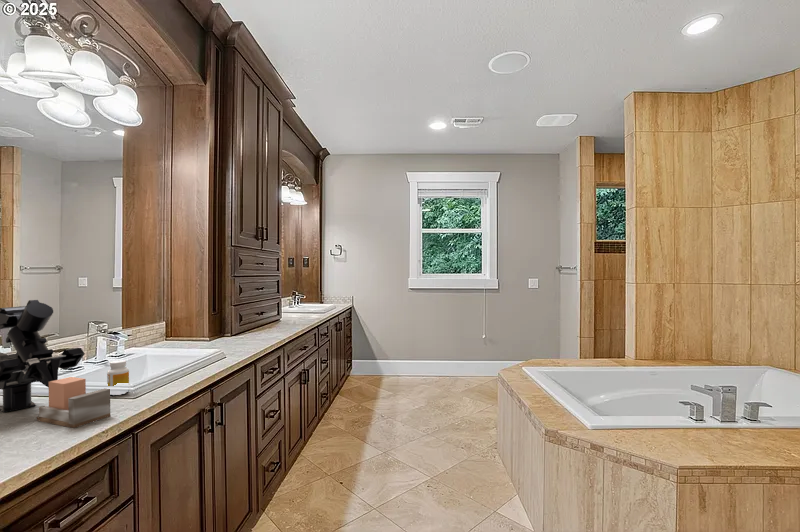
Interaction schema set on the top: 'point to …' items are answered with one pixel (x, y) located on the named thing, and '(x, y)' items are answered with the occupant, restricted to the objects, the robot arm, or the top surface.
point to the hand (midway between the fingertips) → (54, 388)
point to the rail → (79, 410)
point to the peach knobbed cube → (65, 391)
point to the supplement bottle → (117, 373)
